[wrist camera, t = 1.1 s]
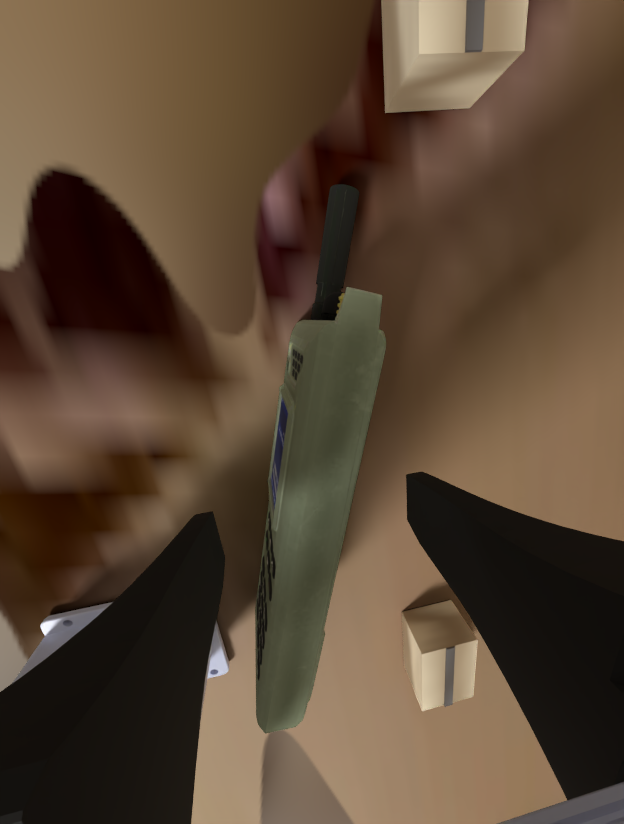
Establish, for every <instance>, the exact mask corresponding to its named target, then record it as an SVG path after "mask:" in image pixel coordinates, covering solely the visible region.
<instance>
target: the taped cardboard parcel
mask: <svg viewBox="0 0 624 824" xmlns="http://www.w3.org/2000/svg"><path fill="white" fill-rule="evenodd" d="M381 1H382V31H383V61H384V90H385V113H390V112H409V111H428V110H446V109H465V108H470V107H471V106H472V105H473V104H474V103H475V102H476V101H477V100H478V99H479V98H480V97H481V96H482V95H483V93H484V92H485V91H486V90H487V89H488V88H489V87H490V86H491V85H492V84H493V83H494V82H495V81H496V80H497V79H498V78H499V77H500V76H501V75H502V74H503V73H504V72H505V71H506V69H507V68H508V67H509V66H510V65H511V64H512V63H513V62H514V61H515V60H516V59H517V58H518V57H519V56H520V55H521V54H522V53H523V52H524V50H525V37H526V25H527V12H528V0H381ZM402 628H403V658H404V667H405V670H406V672H407V675H408V677H409V680H410V682H411V685H412V687H413V690H414V692H415V695H416V697H417V700H418V702H419V705H420V707H421V710H422V711H425V710H428V709H432V708H435V707H439V706H442V705H444V706H445V707H446V706H449V705H453V702H456V701H460V700H463V699H467V698H470V697H473V693H474V680H475V667H476V655H477V642H478V639H477V638H476V636H475V635H474V633H473V632H472V630H471V629H470V627H469V626H468V624H467V623H466V621H465V620H464V618H463V617H462V615H461V614H460V612H459V611H458V609H457V608H456V606H455V605H454V603H453V602H452V600H449V601H444V602H440V603H436V604H432V605H428V606H424V607H420V608H416V609H412V610H408V611H404V612H402Z"/></svg>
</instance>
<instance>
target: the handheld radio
mask: <svg viewBox="0 0 624 824" xmlns="http://www.w3.org/2000/svg"><path fill="white" fill-rule="evenodd" d="M358 198H359V191H358V190H357V189H356V188H354V187H352V186H349V185H344V184H338V185H334V186H332V187H331V188H330V193H329V200H328V206H327V213H326V220H325V227H324V233H323V240H322V247H321V254H320V260H319V267H318V274H317V281H316V284H318V285H317V292H316V298H315V303H314V304H313V308H312V314H311V320H301V321H299V322H297V324H296V325H295V327H294V329H293V331H292V334H291V338H290V342H289V350H288V357H287V363H286V371H285V378H284V384H283V385H282V386H280V387H279V391H280V392H279V400H278V407H277V415H276V423H275V431H274V439H273V446H272V454H271V462H270V470H269V477H268V486H269V504H268V512H267V520H266V528H265V536H264V544H263V552H262V560H261V567H260V575H259V583H258V591H257V599H256V607H255V624H256V716H257V722H258V724H259V726H260V728H261V729H262V730H263V731H264V732H265V733H270V732H274V731H279V730H284V729H288V728H293V727H296V726H297V725H298V724H299V723H300V722H301V721H302V720H303V718H304V715H305V712H306V708H307V703H308V702H309V700H310V697H311V694H312V690H313V686H314V681H315V677H316V672H317V668H318V663H319V659H320V655H321V650H322V646H323V641H324V637H325V631H324V627H325V622H326V617H327V613H328V608H329V604H330V599H331V595H332V590H333V586H334V581H335V577H336V572H337V568H338V563H339V559H340V554H341V550H342V545H343V541H344V536H345V532H346V527H347V523H348V518H349V514H350V509H351V505H352V500H353V495H354V491H355V486H356V482H357V477H358V473H359V468H360V464H361V459H362V455H363V450H364V446H365V441H366V437H367V432H368V428H369V423H370V419H371V414H372V410H373V405H374V401H375V396H376V392H377V387H378V383H379V378H380V374H381V369H382V364H383V360H384V355H385V350H386V338H385V334H384V331H382V330H380V329H379V323H380V314H381V304H382V295H380V294H377V293H373V292H369V291H364V290H360V289H356V288H351V287H347V288H346V291H345V293H343V292H341V288H343V285H344V279H345V273H346V267H347V262H348V256H349V250H350V244H351V239H352V233H353V227H354V221H355V216H356V210H357V204H358Z"/></svg>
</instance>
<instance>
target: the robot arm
mask: <svg viewBox="0 0 624 824" xmlns="http://www.w3.org/2000/svg"><path fill="white" fill-rule="evenodd" d="M406 482H407V520H408V522H409V524H410V526H411V528H412V530H413V532H414V534H415V535H416V537H417V539H418V541H419V543H420V544H421V546H422V547H423V549H424V550H425V552H426V553H427V555H428V556H429V557H430V559H431V560H432V562H433V563H434V565H435V566H436V567H437V569H438V570H439V572H440V573H441V574H442V576H443V577H444V579H445V580H446V582H447V583H448V584H449V586H450V587H451V589H452V590H453V591H454V593H455V594H456V596H457V597H458V599H459V600H460V601H461V603H462V605H463V606H464V608H465V609H466V611H467V612H468V614H469V615H470V617H471V619H472V621H473V622H474V624H475V626H476V627H477V629H478V631H479V633H480V634H481V636H482V638H483V639H484V641H485V643H486V645H487V646H488V648H489V650H490V652H491V654H492V655H493V657H494V659H495V661H496V663H497V664H498V666H499V668H500V670H501V672H502V673H503V675H504V677H505V679H506V681H507V682H508V684H509V686H510V688H511V690H512V692H513V694H514V696H515V697H516V699H517V701H518V703H519V705H520V707H521V709H522V711H523V713H524V715H525V716H526V718H527V720H528V722H529V724H530V726H531V728H532V730H533V732H534V734H535V736H536V738H537V740H538V742H539V744H540V746H541V748H542V750H543V752H544V754H545V756H546V758H547V760H548V762H549V764H550V766H551V768H552V770H553V772H554V774H555V776H556V778H557V780H558V782H559V784H560V786H561V788H562V790H563V792H564V794H565V796H566V798H567V801H564V802H561V803H558V804H555V805H552V806H549V807H546V808H543V809H540V810H537V811H534V812H531V813H528V814H525V815H522V816H519V817H516V818H513V819H510V820H507V821H504V822H501V823H498V824H624V541H620V540H615V539H610V538H606V537H602V536H597V535H593V534H589V533H585V532H581V531H578V530H574V529H570V528H566V527H562V526H559V525H556V524H552V523H549V522H545V521H542V520H539V519H536V518H533V517H530V516H527V515H524V514H521V513H518V512H516V511H513V510H510V509H507V508H505V507H502V506H500V505H497V504H495V503H492V502H490V501H487V500H485V499H483V498H480V497H478V496H476V495H473V494H471V493H469V492H466V491H464V490H462V489H460V488H458V487H455V486H453V485H451V484H449V483H447V482H445V481H442V480H440V479H438V478H436V477H434V476H431V475H429V474H427V473H424V472H417V473H412V474H407V475H406ZM224 566H225V555H224V551H223V548H222V544H221V540H220V537H219V533H218V529H217V525H216V522H215V518H214V514H213V511H212V512H207V513H202V514H196V515H194V516H193V518H192V519H191V520H190V521H189V522H188V523H187V524H186V525H185V527H184V528H183V529H182V530H181V531H180V532H179V534H178V535H177V536H176V537H175V538H174V539H173V540H172V542H171V543H170V544H169V545H168V546H167V547H166V548H165V549H164V551H163V552H162V553H161V554H160V555H159V556H158V557H157V558H156V560H155V561H154V562H153V563H152V564H151V565H150V566H149V567H148V568H147V569H146V570H145V571H144V572H143V573H142V574H141V575H140V576H139V577H138V578H137V579H136V580H135V581H134V582H133V583H132V584H131V586H129V587H128V588H127V589H126V590H125V591H124V592H123V593H122V594H121V595H120V596H119V597H118V598H117V599H116V600H115V601H114V602H110V603H106V604H101V605H97V606H92V607H87V608H83V609H78V610H74V611H69V612H64V613H60V614H55V615H50V616H48V617H46V618H45V619H44V621H43V622H42V623H41V629H42V631H43V633H44V635H45V637H44V638H43V640H42V641H41V643H40V644H39V646H38V647H37V648H36V650H35V651H34V653H33V654H32V656H31V657H30V658H29V660H28V661H27V663H26V664H25V666H24V667H23V669H22V670H21V671H20V673H19V674H18V676H17V677H16V678H15V680H14V682H13V683H12V684H11V685H10V686H8V687H7V688H5V689H4V690H3V691H1V692H0V824H191V817H192V805H193V793H194V781H195V769H196V759H197V749H198V739H199V729H200V720H201V714H202V708H203V702H204V696H205V690H206V684H207V678H211V677H215V676H219V675H223V674H225V673H227V672H228V670H229V660H228V657H227V654H226V651H225V647H224V644H223V641H222V638H221V634H220V631H219V628H218V624H217V621H216V619H217V614H218V609H219V604H220V599H221V594H222V588H223V579H224Z"/></svg>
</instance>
